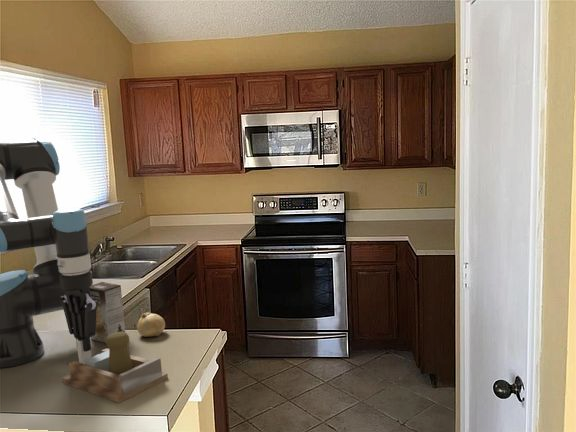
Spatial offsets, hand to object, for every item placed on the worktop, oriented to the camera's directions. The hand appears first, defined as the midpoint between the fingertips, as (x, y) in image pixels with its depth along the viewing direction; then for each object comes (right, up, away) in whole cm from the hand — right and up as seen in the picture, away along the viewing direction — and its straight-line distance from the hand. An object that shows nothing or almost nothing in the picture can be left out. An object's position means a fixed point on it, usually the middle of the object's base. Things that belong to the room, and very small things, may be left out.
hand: (85, 362), depth 138 cm
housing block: (+6, -1, -5) cm, 8 cm away
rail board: (+10, -3, -7) cm, 12 cm away
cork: (+12, -2, -9) cm, 15 cm away
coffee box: (-2, +1, +23) cm, 23 cm away
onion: (+11, +1, +24) cm, 26 cm away
